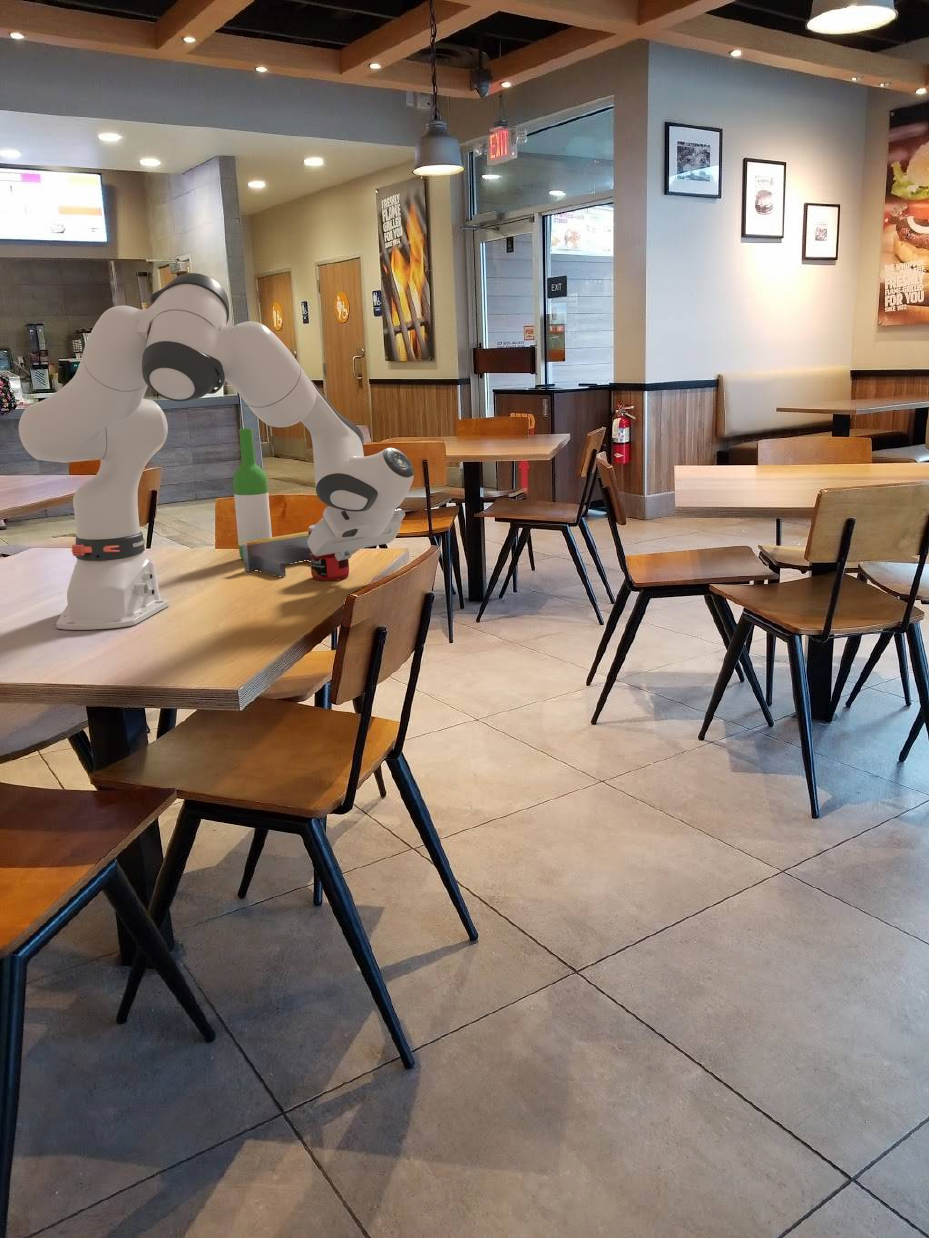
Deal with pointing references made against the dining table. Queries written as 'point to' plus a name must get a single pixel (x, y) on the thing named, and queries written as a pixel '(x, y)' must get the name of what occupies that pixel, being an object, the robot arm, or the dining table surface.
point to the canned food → (327, 565)
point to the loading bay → (275, 553)
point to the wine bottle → (250, 495)
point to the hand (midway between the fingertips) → (341, 557)
